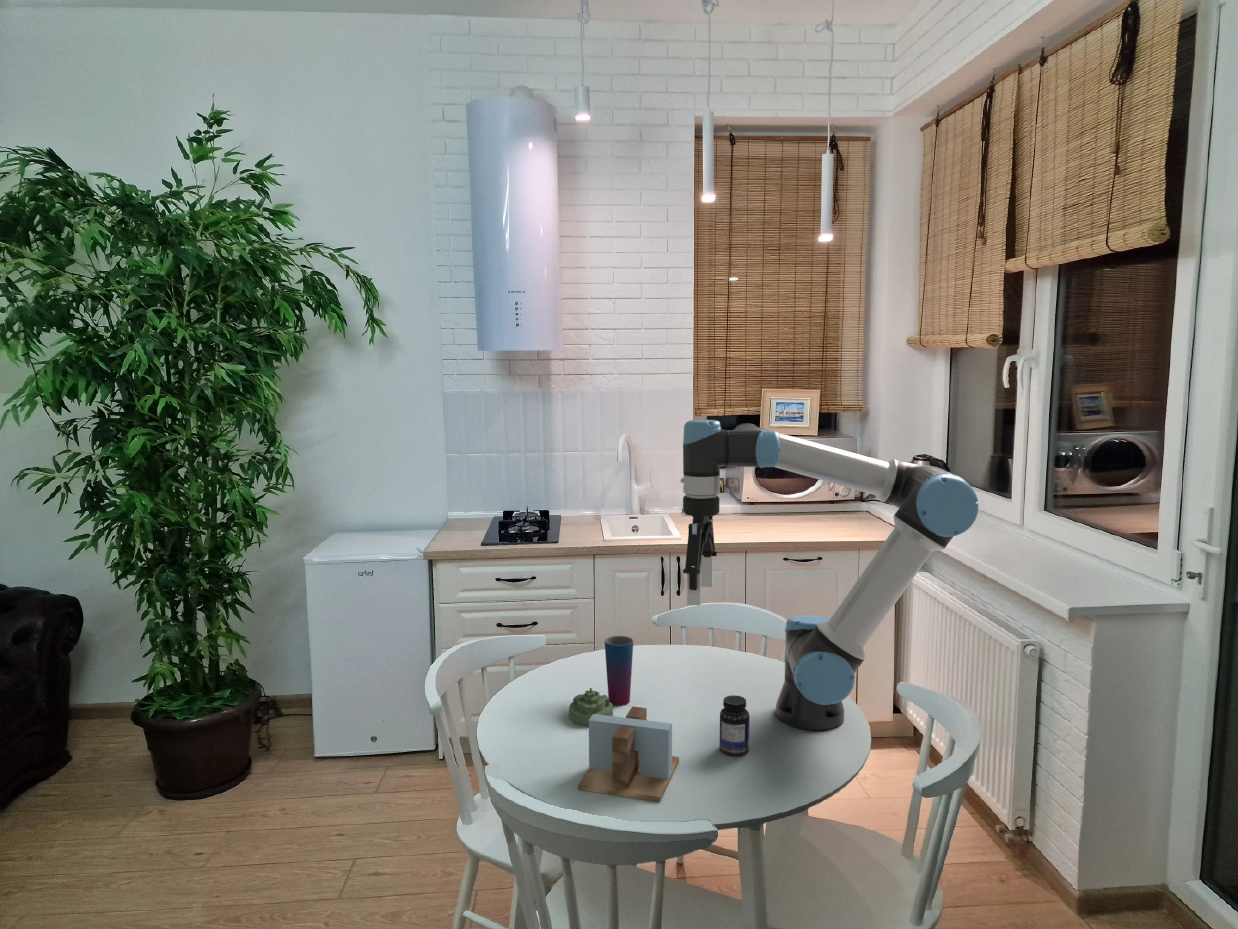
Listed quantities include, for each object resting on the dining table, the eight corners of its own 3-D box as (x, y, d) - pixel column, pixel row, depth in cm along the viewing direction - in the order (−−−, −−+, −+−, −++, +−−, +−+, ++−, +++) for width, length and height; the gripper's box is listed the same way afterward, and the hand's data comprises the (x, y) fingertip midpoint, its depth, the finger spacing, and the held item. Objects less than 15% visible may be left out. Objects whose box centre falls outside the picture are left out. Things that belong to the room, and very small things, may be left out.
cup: (630, 708, 194) (630, 646, 192) (602, 706, 196) (601, 644, 194) (635, 696, 201) (635, 636, 199) (608, 694, 202) (607, 634, 200)
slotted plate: (671, 772, 163) (672, 723, 161) (668, 779, 160) (668, 730, 159) (593, 761, 167) (593, 713, 166) (589, 768, 164) (588, 720, 163)
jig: (678, 761, 169) (679, 709, 168) (660, 802, 154) (660, 745, 152) (603, 751, 174) (603, 700, 172) (578, 789, 158) (577, 734, 157)
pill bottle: (729, 740, 178) (730, 691, 177) (754, 749, 174) (755, 698, 173) (713, 751, 173) (714, 700, 172) (739, 760, 170) (739, 708, 168)
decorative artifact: (619, 723, 187) (604, 705, 196) (619, 693, 186) (604, 677, 195) (576, 730, 184) (563, 712, 193) (576, 699, 183) (563, 683, 192)
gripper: (695, 485, 185) (694, 578, 188) (669, 504, 161) (669, 611, 164) (728, 486, 183) (727, 580, 185) (708, 506, 159) (707, 614, 162)
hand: (700, 595), depth 175 cm, fingers open, 13 cm apart
